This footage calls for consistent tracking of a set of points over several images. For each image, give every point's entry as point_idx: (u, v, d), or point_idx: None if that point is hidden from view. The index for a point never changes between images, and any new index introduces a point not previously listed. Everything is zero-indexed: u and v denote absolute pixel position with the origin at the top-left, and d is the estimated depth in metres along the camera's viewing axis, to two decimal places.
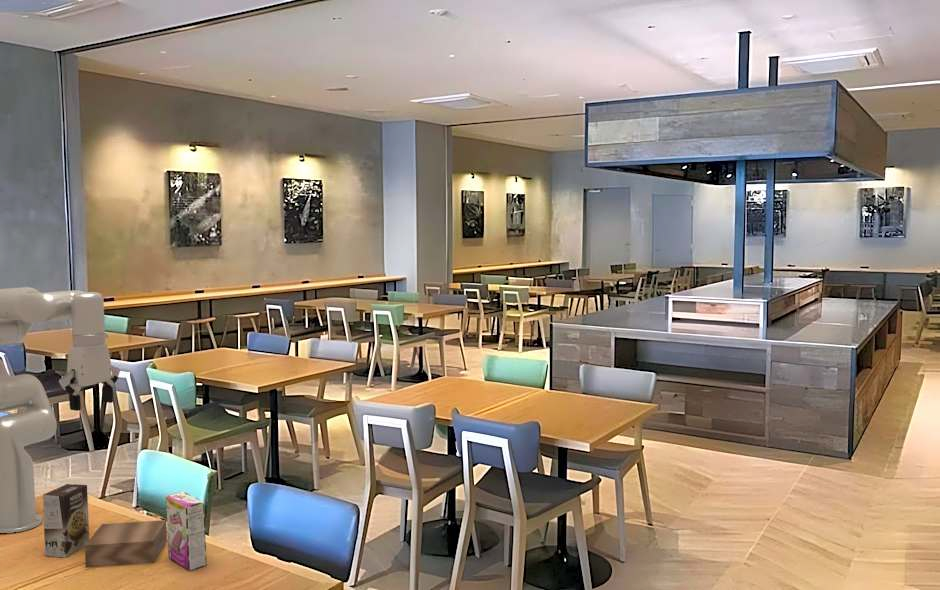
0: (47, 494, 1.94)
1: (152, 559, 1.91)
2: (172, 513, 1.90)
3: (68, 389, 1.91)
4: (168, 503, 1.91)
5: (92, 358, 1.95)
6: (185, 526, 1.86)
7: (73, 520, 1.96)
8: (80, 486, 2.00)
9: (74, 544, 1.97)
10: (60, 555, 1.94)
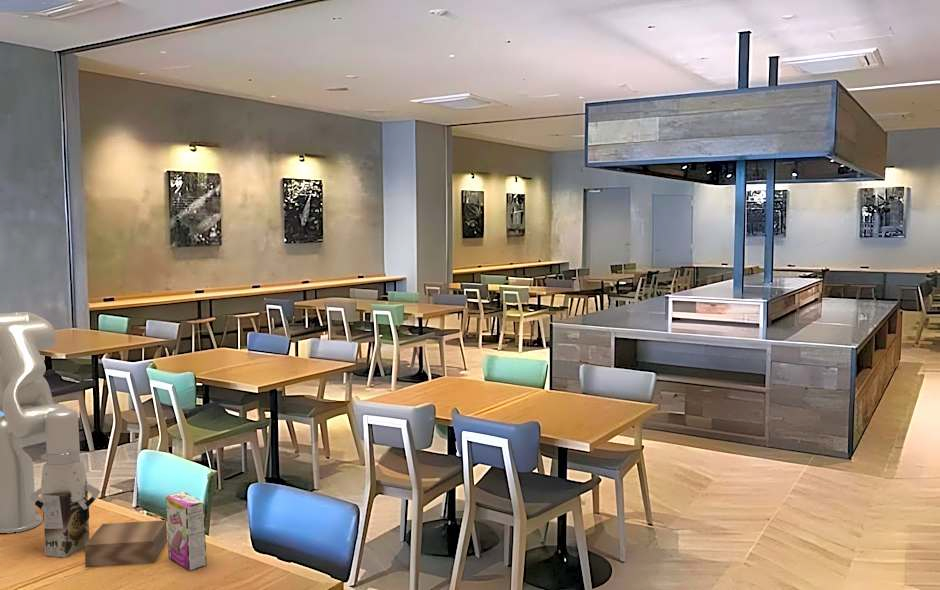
0: (48, 494, 1.94)
1: (152, 559, 1.91)
2: (172, 513, 1.90)
3: None
4: (168, 503, 1.91)
5: None
6: (185, 526, 1.86)
7: (73, 520, 1.96)
8: None
9: (74, 544, 1.97)
10: (60, 555, 1.94)
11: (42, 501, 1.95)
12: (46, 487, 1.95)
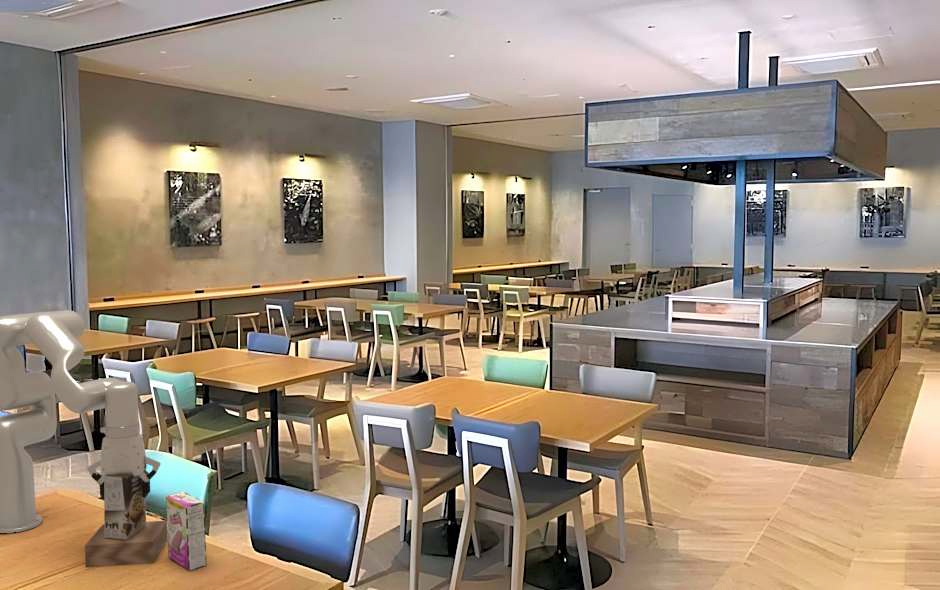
0: (109, 476, 1.91)
1: (152, 560, 1.91)
2: (172, 513, 1.90)
3: None
4: (168, 503, 1.91)
5: None
6: (185, 526, 1.86)
7: (134, 501, 1.94)
8: None
9: (134, 526, 1.94)
10: (121, 537, 1.92)
11: (102, 475, 1.92)
12: (106, 461, 1.92)
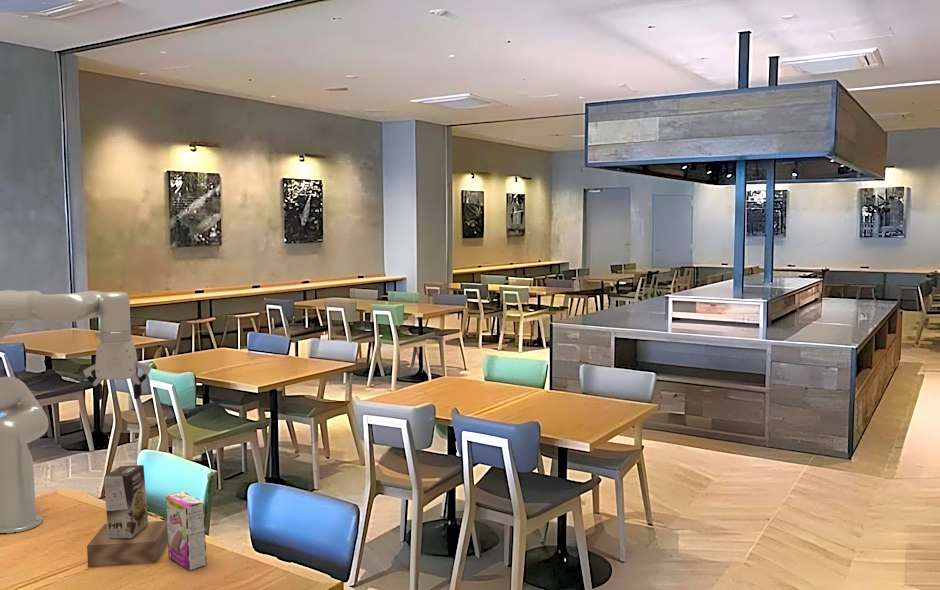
0: (109, 476, 1.91)
1: (154, 560, 1.91)
2: (172, 513, 1.90)
3: None
4: (168, 503, 1.91)
5: None
6: (185, 526, 1.86)
7: (135, 500, 1.94)
8: (137, 466, 1.98)
9: (137, 524, 1.95)
10: (126, 536, 1.92)
11: (96, 377, 2.08)
12: (100, 363, 2.07)
